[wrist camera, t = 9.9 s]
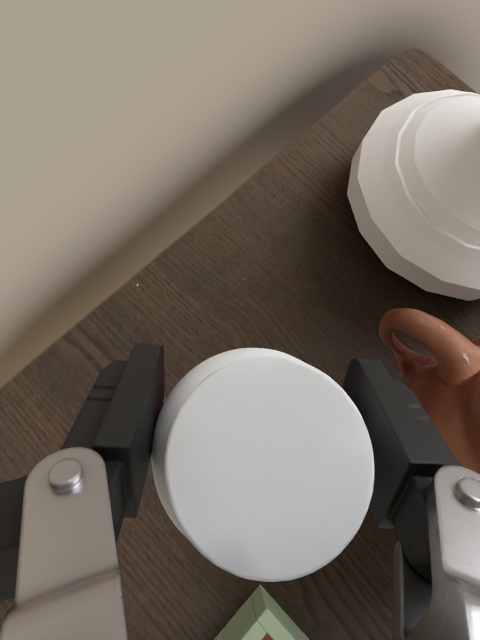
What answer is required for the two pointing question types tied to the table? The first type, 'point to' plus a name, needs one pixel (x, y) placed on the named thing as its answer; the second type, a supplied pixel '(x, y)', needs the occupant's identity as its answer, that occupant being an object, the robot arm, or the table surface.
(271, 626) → the storage box
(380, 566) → the table surface
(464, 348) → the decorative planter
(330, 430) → the pill bottle
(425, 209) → the white vase
